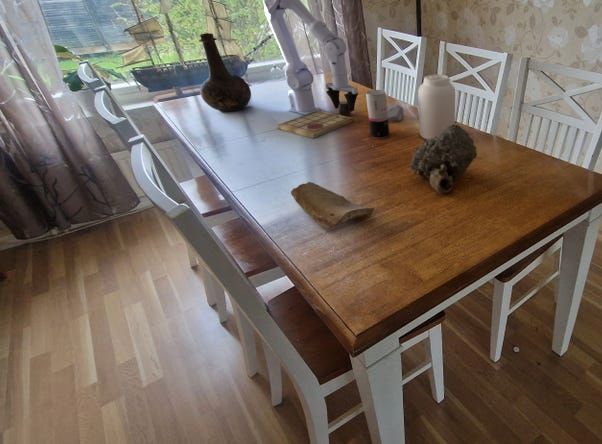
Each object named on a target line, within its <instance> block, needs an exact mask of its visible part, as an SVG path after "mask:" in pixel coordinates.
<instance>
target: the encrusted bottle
mask: <svg viewBox="0 0 602 444" xmlns="http://www.w3.org/2000/svg"><path fill="white" fill-rule="evenodd" d="M412 155H413V156H412V158H411V162H410V163H409V165H408V166H409V168H410V169H411V170H412V171H413V174H417V175H418V176H419V177H420V178H422V179H425V180H429V184H430V186H431V187H432V188H433V189H434V190H435V191H436V192H437V193H438V194H442V195H445V194H448V193H450V192H451V190H452V189H453V186H454V182H453V181H456V180H457V179H460V178H461V177H462V176H463V175H465V174H466V172H467V171H468V169H469V167H470V166H471V164H472V162H473V161H474V160H475V159H477V156H478V153H477V146H476V145H475V141H474V138H472V137H471V136H470V133H469V132H468V131H467V130H465V129H463V128H462V127H461V126H460V125H458V124H455V125H454V124H453V125H451V126H448V127H447V128H446V129H445V130H444V131H443V132H442V133H441V134H440V135H438V136H436V137H435V138H429V139H428V140H427V139H426V140H425V141H424V142H423V144H422V145H421V146H417V147H416V149H415V151H414V153H413V154H412Z"/></svg>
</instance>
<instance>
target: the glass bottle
mask: <svg viewBox="0 0 602 444" xmlns="http://www.w3.org/2000/svg"><path fill="white" fill-rule="evenodd" d="M199 37H200V38H199V39H198V41H199V42H200V43H202V47H203V50H204V54H205V58H206V62H207V66H208V75H209V76H208V78H207V79H205V80H204V81H203V82H202V84H201V85H200V89H199V93H200V94H199V95H200V96H201V99H202V100H203V102H204V103H205V104H207V105H208V106H210V108H212V109H214V110H216V111H221V112H232V111H237V110H241V109H244V108H245V107H246V106H247V105H248V104H249V103H250V101H251V99H252V91H251V88H250V86H249V84H248V83H247V82H246V81H245V79H244V78H242V77H241V76H239V75H236V74H231V73H230V72H229V71H228V69H227V66H226V65H225V63H224V61H223V58H222V55H221V54H220V50H219V48H218V45H217V44H216V41H217V40H218V39H217V38H215V37H214V34H213V33H210V32H208V33H207V32H206V33H200V34H199Z"/></svg>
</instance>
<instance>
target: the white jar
mask: <svg viewBox="0 0 602 444" xmlns="http://www.w3.org/2000/svg"><path fill="white" fill-rule="evenodd" d="M455 88H456V87H455V86H454V85H453V84H452V83H451V79H450V77H449V76H448V75H445V74H439V73H437V74H435V73H434V74H428V75H425V76H424V77H423V82H422V84H420V85H419V87H418V92H417V96H418V99H417V100H418V123H419V124H418V125H419V128H418V129H419V135H420V137H421V138H422V139H424V140H426V141H427V140H428V139H429V138H435V137H436V136H438V135H440V134H441V133H442V132H443V131H444V130H445V129H446V128H447V127H448V126H451V125H453V124H454V125H456V89H455Z"/></svg>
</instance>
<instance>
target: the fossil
mask: <svg viewBox="0 0 602 444" xmlns="http://www.w3.org/2000/svg"><path fill="white" fill-rule="evenodd" d="M290 194H291V197H292V198H293V200H294V201H295V202H296V204H297V205H298V206H299V207H300V208H301V210H302V211H303V212H304V213H306V215H307V216H308V217H310V218H311V220H313V221H314V222H315V223H316V224H317V225H320V226H321V227H324V228H326V229H329V230H333V229H335V228H337V227H339V226H340V225H342V224H344V223H346V222H347V221H349V220H353V219H356V218H360V217H368V216H373V212H374V210H375V208H374V207H367V206H363V205H358V204H355V203H353V202H351V201H350V200H348V199H347V198H346V197H345V196H343V195H340V194H338V193H336V192H333V191H332V190H329V189H327V188H325V187H323V186H321V185H319V184H316V183H315V182H312V181H308V182H306V183H301V184H299V185H298V186H297V187H294V188H293V189H292V190H291V191H290Z"/></svg>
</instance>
